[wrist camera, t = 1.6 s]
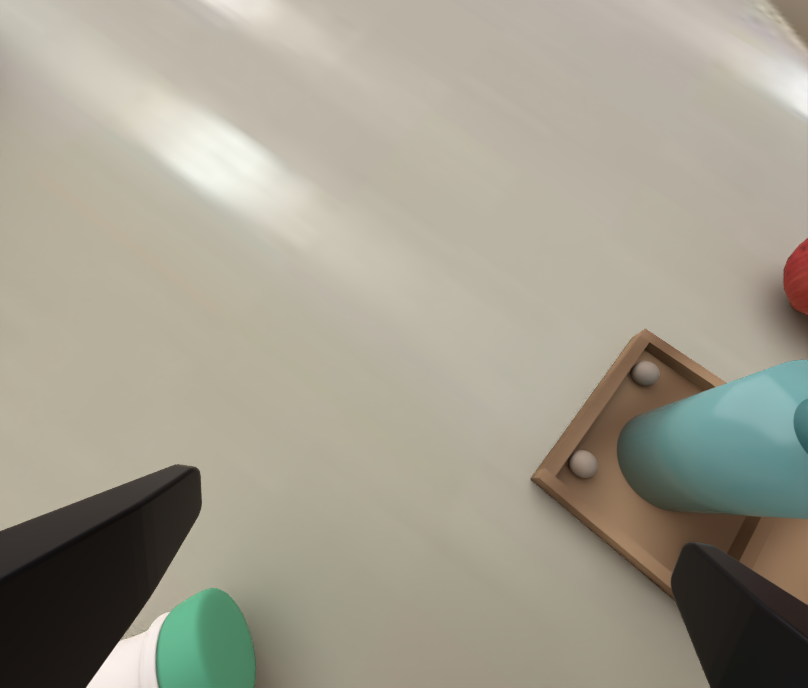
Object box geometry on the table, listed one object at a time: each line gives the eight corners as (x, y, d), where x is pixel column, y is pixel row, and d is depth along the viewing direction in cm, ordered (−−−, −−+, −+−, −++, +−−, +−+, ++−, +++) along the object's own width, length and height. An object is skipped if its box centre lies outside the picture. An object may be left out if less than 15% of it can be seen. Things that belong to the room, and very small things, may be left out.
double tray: (973, 570, 19) (1025, 577, 18) (905, 794, 16) (958, 826, 15) (632, 337, 24) (648, 326, 22) (530, 478, 21) (540, 477, 19)
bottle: (737, 484, 20) (1109, 470, 10) (657, 530, 20) (964, 570, 9) (673, 396, 22) (926, 302, 11) (597, 435, 21) (792, 372, 11)
